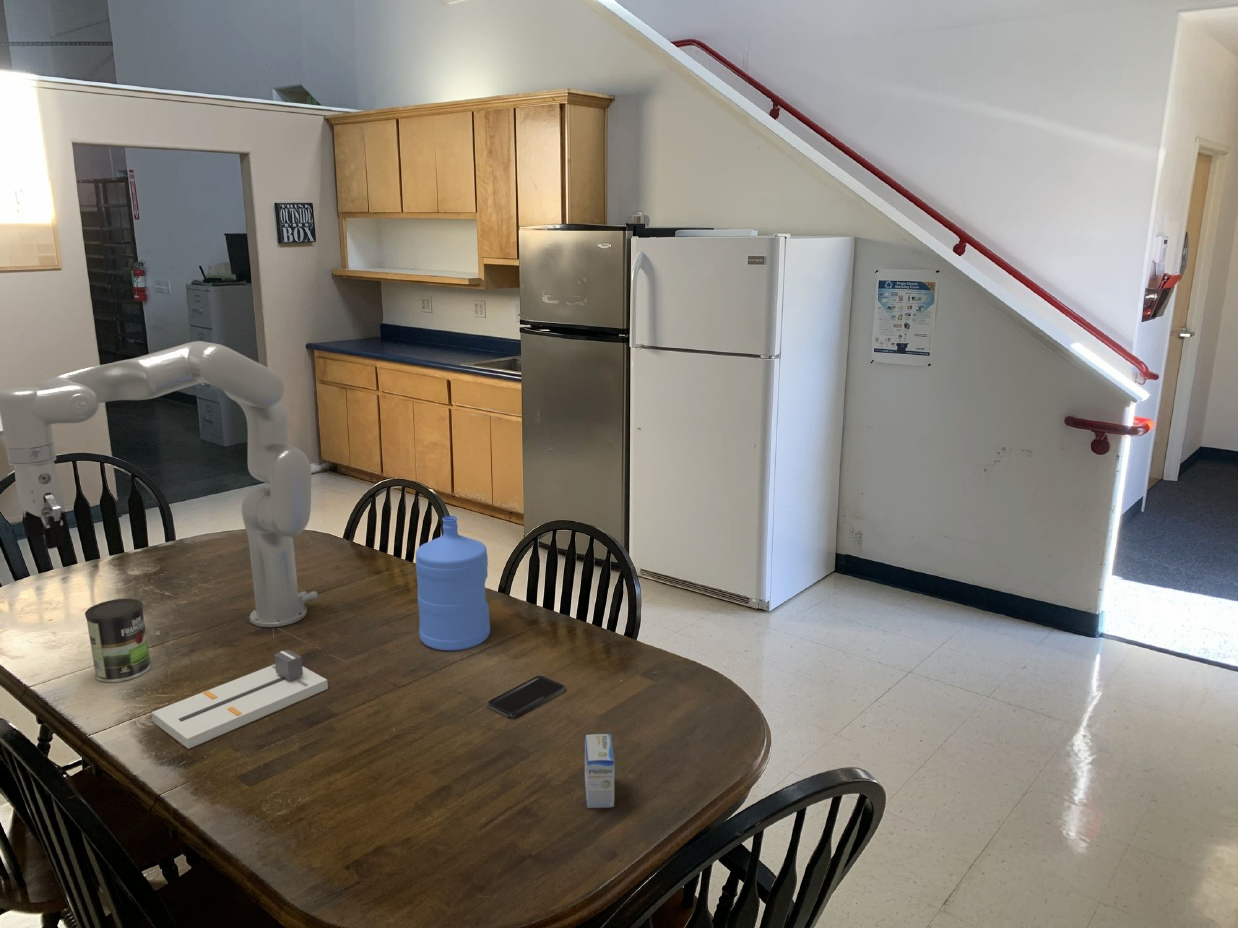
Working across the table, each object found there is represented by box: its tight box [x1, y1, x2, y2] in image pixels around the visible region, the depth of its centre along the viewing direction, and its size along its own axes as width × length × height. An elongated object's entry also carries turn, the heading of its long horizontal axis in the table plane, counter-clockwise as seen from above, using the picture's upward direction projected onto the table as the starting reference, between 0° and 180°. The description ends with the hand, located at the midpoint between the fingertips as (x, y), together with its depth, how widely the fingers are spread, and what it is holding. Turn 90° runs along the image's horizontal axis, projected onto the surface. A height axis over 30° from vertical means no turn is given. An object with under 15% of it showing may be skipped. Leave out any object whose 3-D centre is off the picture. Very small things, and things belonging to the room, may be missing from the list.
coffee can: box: [84, 598, 152, 683], centre depth 186 cm, size 10×10×14 cm
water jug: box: [415, 515, 491, 651], centre depth 200 cm, size 16×16×28 cm
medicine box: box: [584, 733, 616, 809], centre depth 146 cm, size 8×4×9 cm, turn 5°
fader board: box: [151, 663, 329, 750], centre depth 174 cm, size 28×14×2 cm, turn 140°
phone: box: [486, 675, 566, 720], centre depth 177 cm, size 8×1×15 cm
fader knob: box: [273, 649, 303, 681], centre depth 181 cm, size 3×5×4 cm, turn 50°
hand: (46, 541), depth 172 cm, fingers open, 9 cm apart
